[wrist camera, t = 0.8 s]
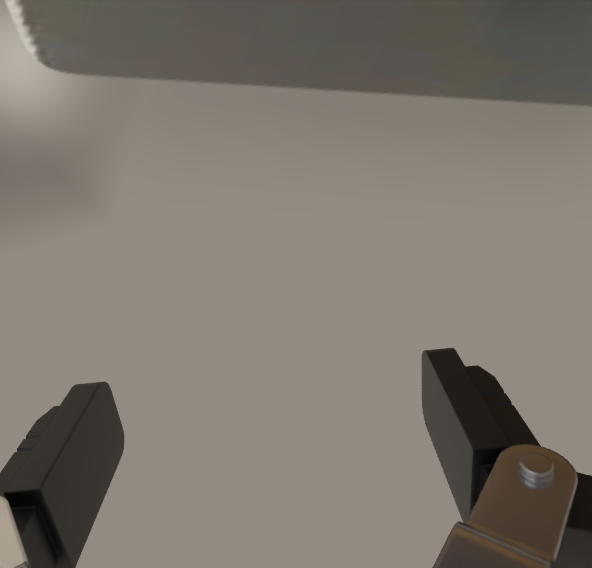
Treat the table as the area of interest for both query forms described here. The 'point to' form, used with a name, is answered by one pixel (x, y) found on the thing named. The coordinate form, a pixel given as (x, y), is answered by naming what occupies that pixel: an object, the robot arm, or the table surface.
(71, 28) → the table surface
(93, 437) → the robot arm
